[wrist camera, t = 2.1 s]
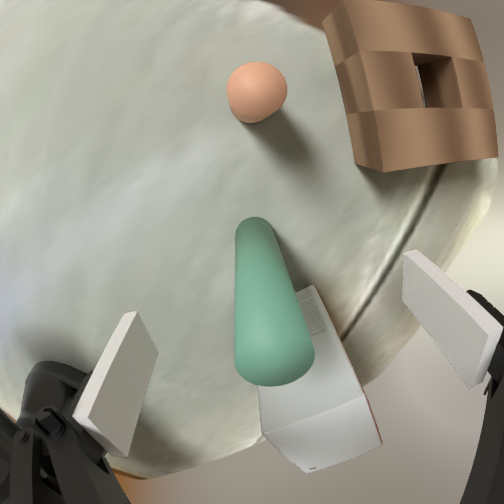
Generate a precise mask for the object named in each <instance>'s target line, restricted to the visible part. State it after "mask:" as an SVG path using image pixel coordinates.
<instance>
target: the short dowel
mask: <svg viewBox="0 0 504 504" xmlns="http://www.w3.org/2000/svg"><path fill="white" fill-rule="evenodd" d="M227 93H228V98H229V103H230V107H231V111H232V113H233V114H234V116H235V117H236V118H237V119H239V120H240V121H242V122H245V123H257V122H260V121H262V120H263V119H265V118H266V117H268V116H269V115H271V114H273V113H274V112H276V111H277V110H278V109H279V108H280V107H281V106H282V105H283V103H284V101H285V99H286V96H287V84H286V81H285V78H284V76H283V75H282V74H281V72H280V71H279V70H278V69H276V68H275V67H273V66H272V65H270V64H267V63H263V62H250V63H247V64H244V65H242V66H240V67H239V68H237V69H236V70H235V71H234V72H233V73H232V75H231V76H230V78H229V81H228V84H227Z"/></svg>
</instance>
